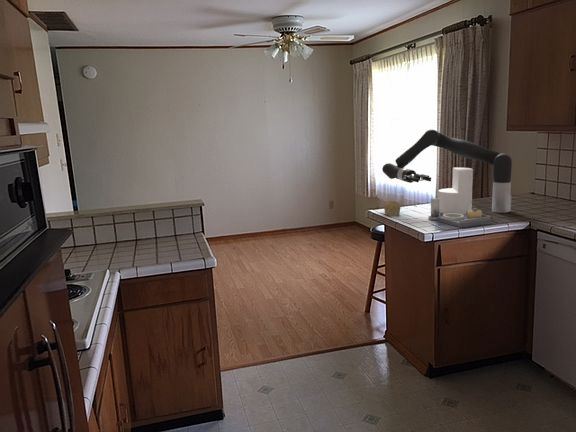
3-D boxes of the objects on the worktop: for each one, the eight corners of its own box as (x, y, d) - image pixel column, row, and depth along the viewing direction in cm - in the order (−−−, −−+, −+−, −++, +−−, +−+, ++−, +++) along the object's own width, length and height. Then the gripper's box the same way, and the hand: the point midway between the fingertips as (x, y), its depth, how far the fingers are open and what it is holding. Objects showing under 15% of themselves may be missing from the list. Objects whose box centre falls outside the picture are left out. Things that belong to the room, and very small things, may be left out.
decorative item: (394, 222, 274) (405, 208, 272) (380, 212, 275) (391, 198, 272) (393, 219, 283) (404, 206, 281) (380, 209, 284) (390, 196, 281)
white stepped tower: (469, 208, 285) (471, 167, 280) (473, 214, 267) (474, 170, 262) (437, 208, 290) (438, 167, 285) (438, 214, 272) (439, 171, 267)
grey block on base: (436, 217, 264) (436, 197, 262) (443, 219, 258) (444, 199, 256) (425, 219, 262) (426, 198, 260) (433, 221, 256) (433, 200, 254)
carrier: (467, 216, 263) (468, 203, 261) (491, 222, 246) (492, 208, 244) (437, 220, 256) (438, 207, 255) (460, 227, 239) (460, 212, 238)
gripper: (397, 169, 275) (414, 174, 260) (416, 168, 280) (435, 172, 266) (396, 182, 277) (413, 187, 262) (415, 180, 282) (434, 185, 268)
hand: (424, 180), depth 264 cm, fingers open, 8 cm apart
